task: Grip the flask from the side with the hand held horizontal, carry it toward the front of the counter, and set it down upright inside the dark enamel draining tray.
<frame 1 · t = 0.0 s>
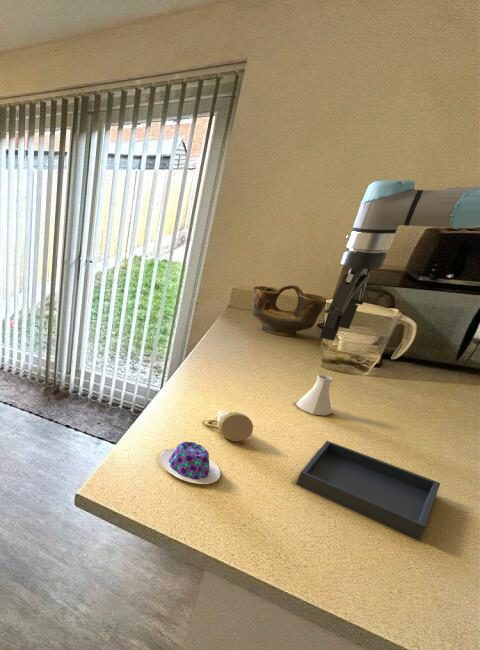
hand: (334, 332, 102), 21 cm above the countertop, tool pointing down, fingers open, 13 cm apart
flask: (312, 409, 108), on the countertop
mug: (225, 432, 99), on the countertop
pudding: (188, 468, 87), on the countertop
pottery vessel: (277, 332, 162), on the countertop
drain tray: (362, 490, 80), on the countertop
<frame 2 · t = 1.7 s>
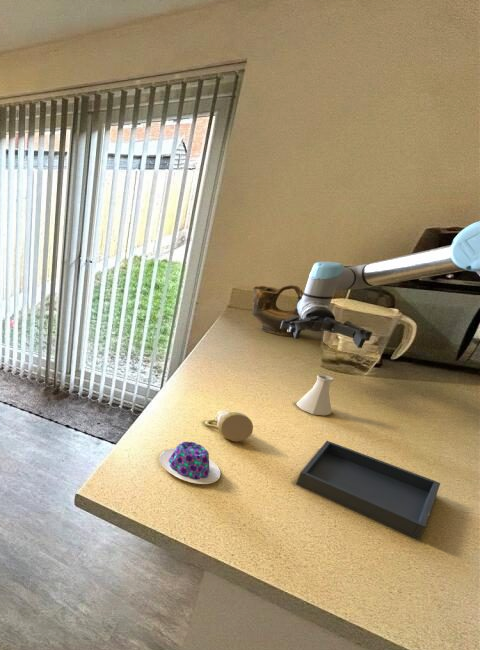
hand: (328, 338, 108), 18 cm above the countertop, tool horizontal, fingers open, 13 cm apart
nothing on the countertop moved.
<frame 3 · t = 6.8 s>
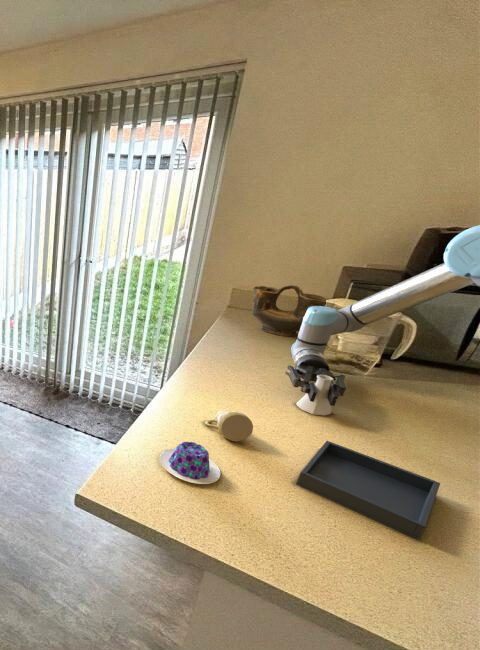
hand: (323, 399, 102), 6 cm above the countertop, tool horizontal, fingers closed on flask, 3 cm apart
flask: (312, 409, 108), on the countertop, touching gripper
everything else where it was.
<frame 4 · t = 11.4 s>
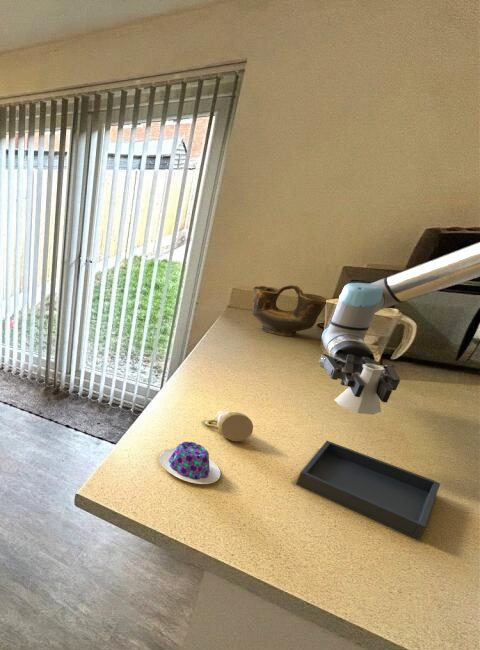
hand: (373, 393, 81), 18 cm above the countertop, tool horizontal, fingers closed on flask, 3 cm apart
flask: (356, 407, 87), point 12 cm above the countertop, touching gripper
everything else where it was.
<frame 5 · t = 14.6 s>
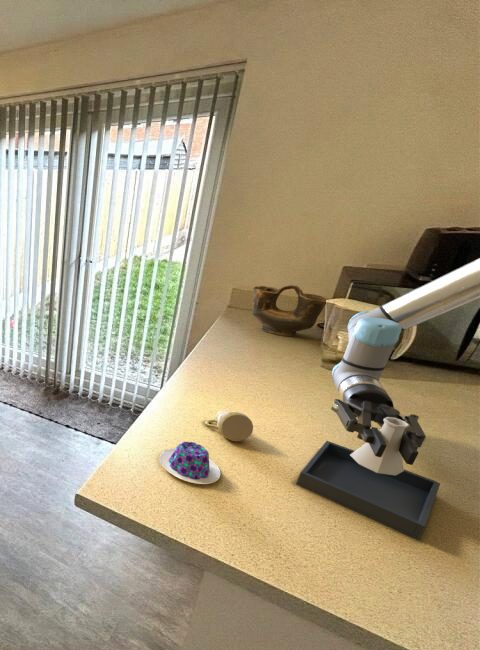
hand: (396, 454, 71), 13 cm above the countertop, tool horizontal, fingers closed on flask, 3 cm apart
flask: (374, 464, 78), point 6 cm above the countertop, touching gripper
everything else where it was.
when the fingers open (7 cm above the countertop, at t = 16.5 s): flask stays where it is, resting on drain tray.
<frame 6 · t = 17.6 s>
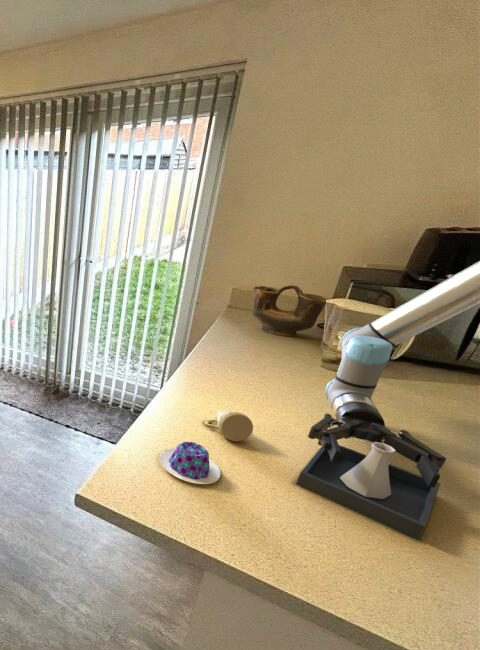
hand: (383, 468, 74), 8 cm above the countertop, tool horizontal, fingers open, 13 cm apart
flask: (363, 487, 80), point 1 cm above the countertop, touching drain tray
everything else where it was.
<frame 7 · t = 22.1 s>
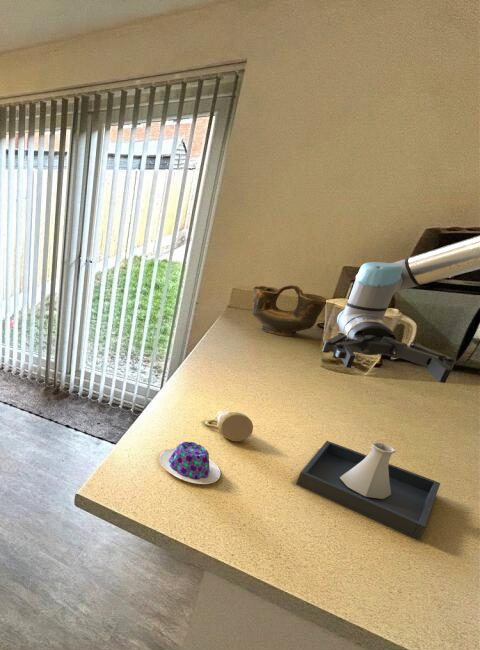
hand: (395, 368, 78), 24 cm above the countertop, tool horizontal, fingers open, 13 cm apart
nothing on the countertop moved.
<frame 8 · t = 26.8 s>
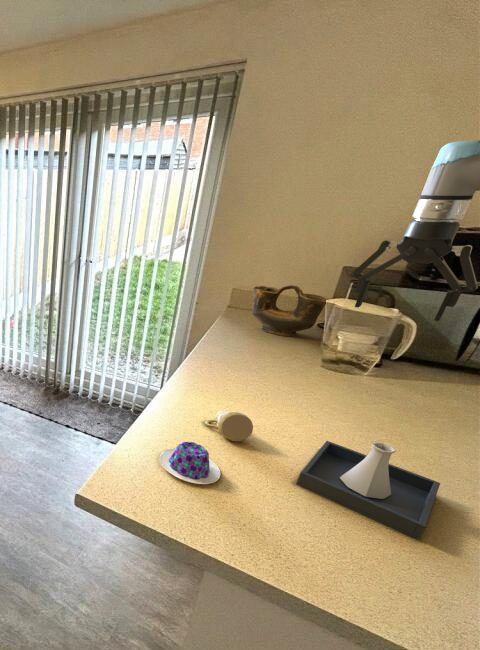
hand: (395, 312, 94), 29 cm above the countertop, tool pointing down, fingers open, 13 cm apart
nothing on the countertop moved.
at the end: flask inside the target area in the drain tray (0.0 cm from its centre), point 0.6 cm above the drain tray's base; flask tilted 0°; the gripper is holding nothing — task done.
